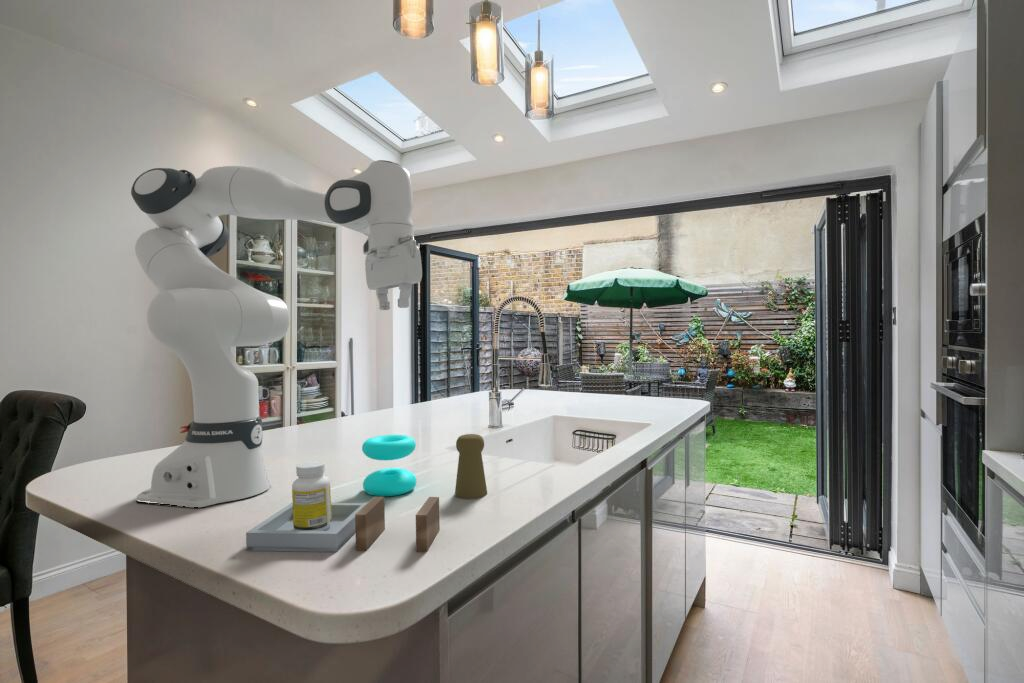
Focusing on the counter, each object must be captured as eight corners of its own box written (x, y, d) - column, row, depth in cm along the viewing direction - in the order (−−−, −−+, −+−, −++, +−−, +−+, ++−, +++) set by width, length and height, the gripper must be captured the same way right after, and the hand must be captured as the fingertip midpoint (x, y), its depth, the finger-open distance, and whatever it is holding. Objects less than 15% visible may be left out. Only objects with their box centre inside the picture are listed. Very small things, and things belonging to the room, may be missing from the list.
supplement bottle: (307, 521, 83) (306, 459, 83) (338, 523, 82) (336, 460, 82) (285, 534, 78) (283, 467, 78) (318, 536, 76) (316, 469, 76)
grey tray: (246, 550, 73) (246, 532, 73) (292, 517, 86) (292, 502, 86) (336, 551, 72) (336, 533, 72) (369, 518, 85) (369, 503, 85)
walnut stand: (355, 550, 73) (355, 514, 73) (375, 529, 81) (374, 496, 81) (427, 551, 72) (426, 515, 72) (439, 529, 80) (439, 496, 80)
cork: (482, 499, 94) (481, 438, 94) (450, 498, 95) (449, 437, 95) (490, 489, 100) (489, 432, 100) (460, 488, 101) (459, 431, 101)
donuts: (351, 442, 97) (378, 432, 107) (352, 496, 97) (379, 481, 107) (400, 444, 95) (424, 434, 104) (401, 500, 95) (425, 484, 104)
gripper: (429, 234, 102) (430, 306, 102) (387, 249, 118) (388, 311, 118) (398, 231, 98) (400, 305, 98) (359, 247, 114) (361, 311, 115)
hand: (393, 309), depth 108 cm, fingers open, 8 cm apart
